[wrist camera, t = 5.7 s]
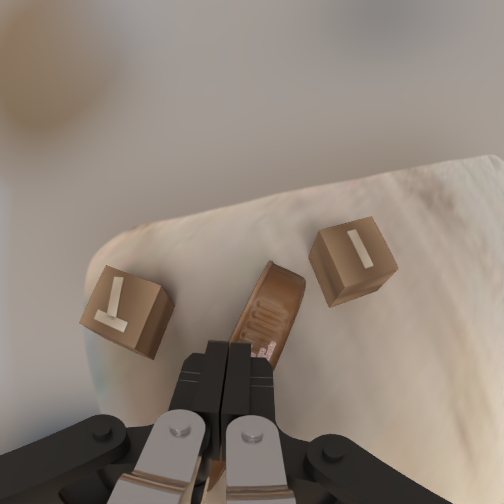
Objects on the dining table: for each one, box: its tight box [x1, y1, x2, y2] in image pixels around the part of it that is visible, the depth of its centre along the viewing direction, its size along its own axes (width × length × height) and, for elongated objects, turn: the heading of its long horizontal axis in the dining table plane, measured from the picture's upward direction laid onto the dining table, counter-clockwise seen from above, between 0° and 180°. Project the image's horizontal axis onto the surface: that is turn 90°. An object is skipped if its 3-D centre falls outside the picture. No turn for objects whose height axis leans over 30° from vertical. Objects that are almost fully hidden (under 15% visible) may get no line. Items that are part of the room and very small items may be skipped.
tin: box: [207, 261, 306, 492], centre depth 18 cm, size 15×3×8 cm, turn 156°
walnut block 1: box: [309, 216, 398, 308], centre depth 24 cm, size 4×4×5 cm
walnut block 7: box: [79, 265, 175, 360], centre depth 22 cm, size 4×4×5 cm
